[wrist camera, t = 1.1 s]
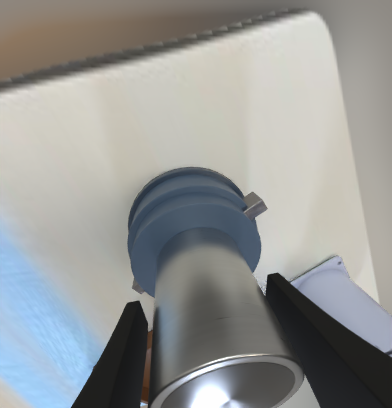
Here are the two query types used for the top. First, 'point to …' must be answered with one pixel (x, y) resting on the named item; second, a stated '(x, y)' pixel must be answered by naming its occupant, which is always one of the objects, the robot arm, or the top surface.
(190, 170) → the lidded cooking pot
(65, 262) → the top surface
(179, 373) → the cup
